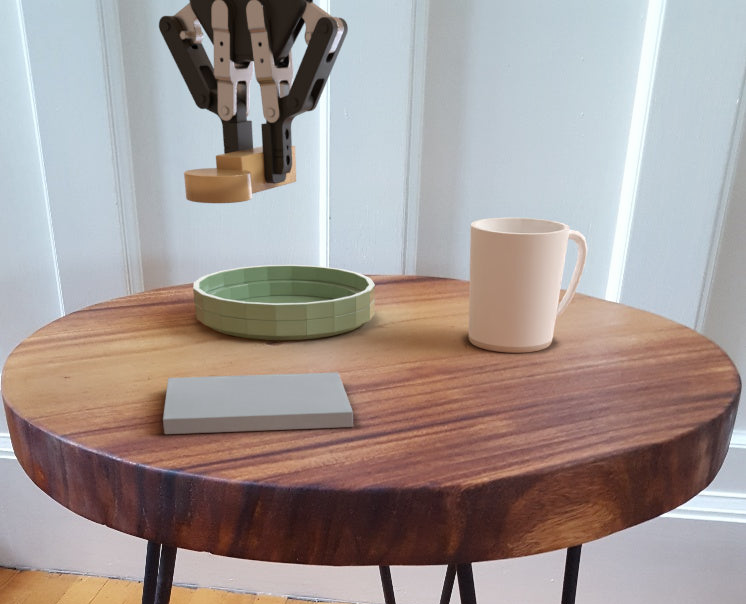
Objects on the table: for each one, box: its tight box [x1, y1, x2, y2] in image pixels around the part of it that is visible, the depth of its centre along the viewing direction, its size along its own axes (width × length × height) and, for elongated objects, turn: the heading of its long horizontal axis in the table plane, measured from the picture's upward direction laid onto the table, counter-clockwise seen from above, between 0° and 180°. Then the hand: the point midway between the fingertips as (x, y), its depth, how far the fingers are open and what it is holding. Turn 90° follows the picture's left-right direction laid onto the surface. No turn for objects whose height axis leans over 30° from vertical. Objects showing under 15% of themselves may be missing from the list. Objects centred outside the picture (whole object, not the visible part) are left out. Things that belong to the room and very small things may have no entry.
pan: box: [192, 264, 376, 341], centre depth 98 cm, size 18×18×4 cm
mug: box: [468, 217, 589, 354], centre depth 90 cm, size 11×9×10 cm
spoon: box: [183, 145, 297, 204], centre depth 67 cm, size 12×4×2 cm, turn 158°
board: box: [162, 371, 354, 435], centre depth 75 cm, size 14×10×1 cm
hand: (259, 180), depth 69 cm, fingers closed on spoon, 2 cm apart
